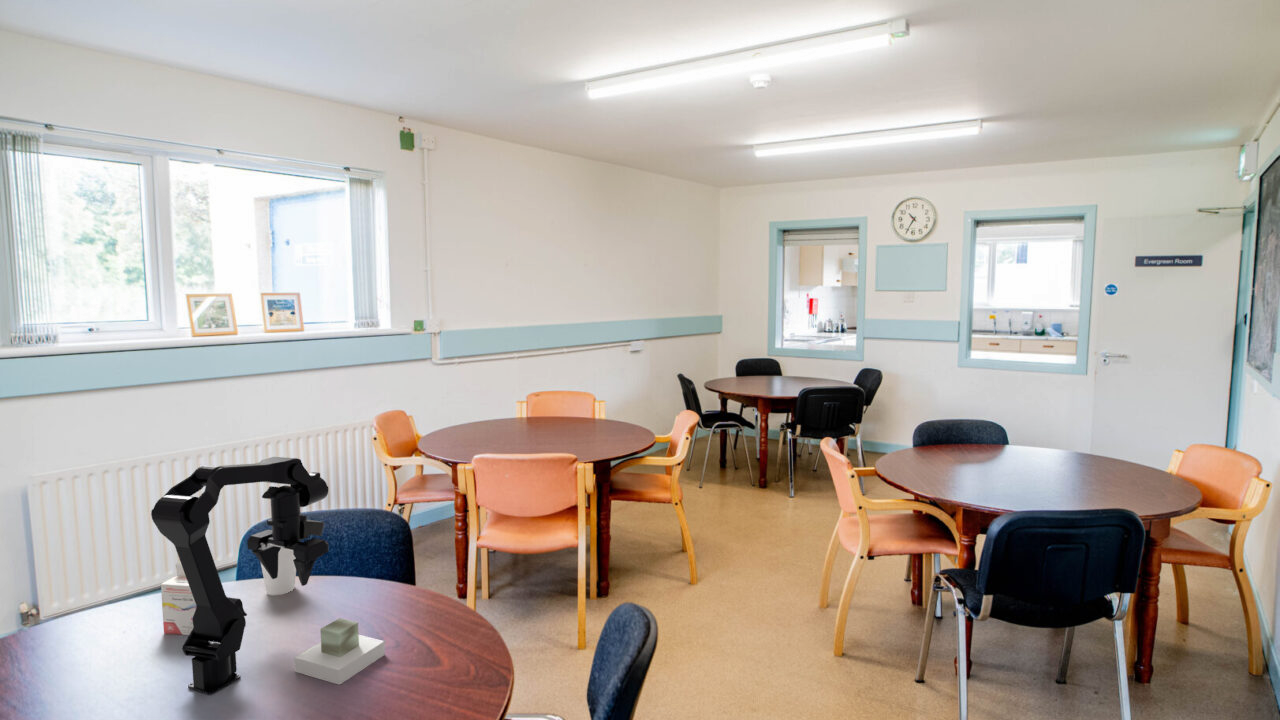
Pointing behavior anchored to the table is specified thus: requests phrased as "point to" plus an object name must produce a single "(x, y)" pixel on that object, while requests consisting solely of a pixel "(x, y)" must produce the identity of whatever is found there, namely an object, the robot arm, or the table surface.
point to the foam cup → (281, 574)
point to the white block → (339, 661)
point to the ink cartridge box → (177, 604)
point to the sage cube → (339, 637)
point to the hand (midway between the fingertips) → (289, 581)
